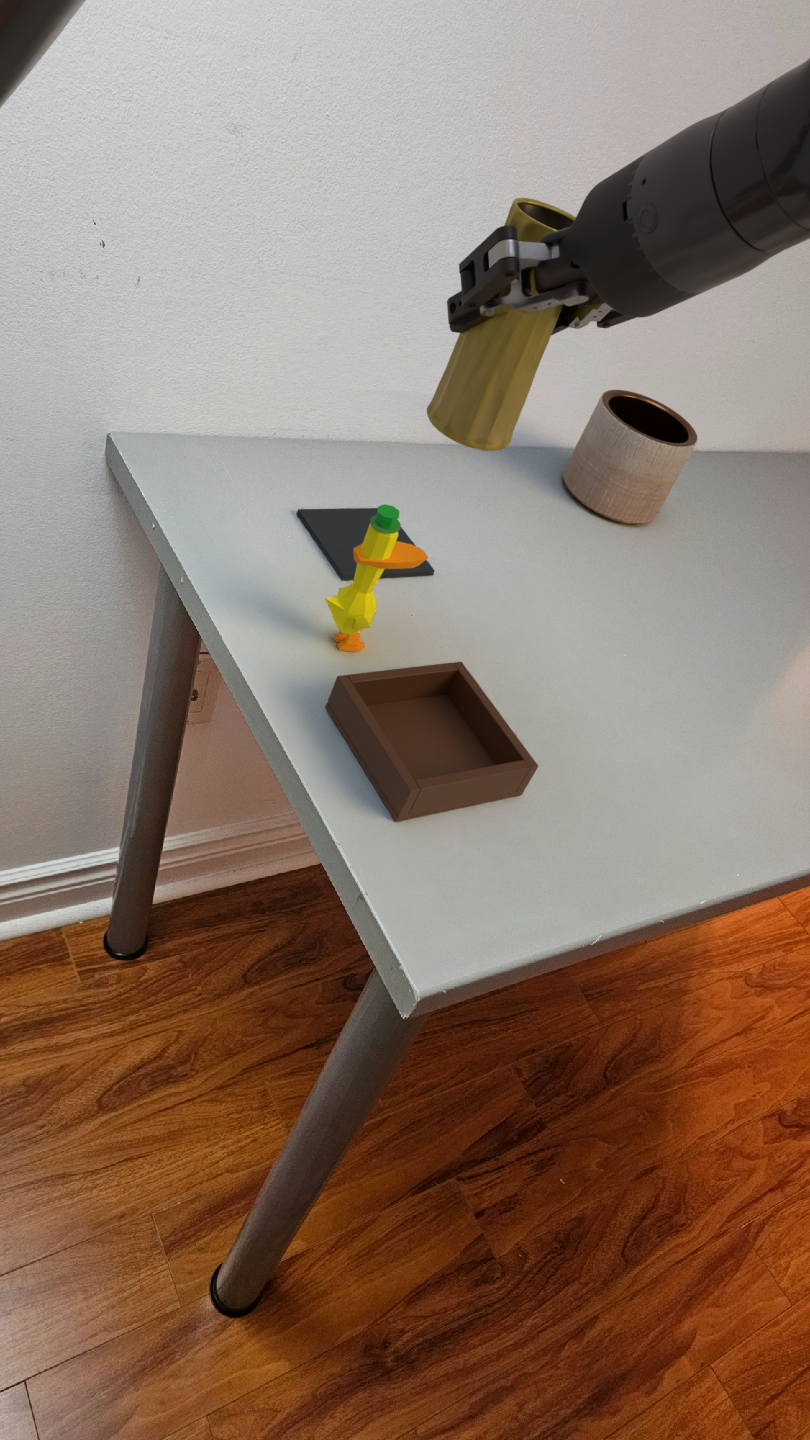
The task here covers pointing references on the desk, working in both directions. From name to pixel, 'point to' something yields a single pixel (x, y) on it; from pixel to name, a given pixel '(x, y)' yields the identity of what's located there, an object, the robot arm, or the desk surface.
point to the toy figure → (370, 576)
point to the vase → (498, 354)
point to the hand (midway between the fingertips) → (491, 321)
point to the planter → (629, 457)
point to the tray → (429, 739)
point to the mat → (350, 539)
